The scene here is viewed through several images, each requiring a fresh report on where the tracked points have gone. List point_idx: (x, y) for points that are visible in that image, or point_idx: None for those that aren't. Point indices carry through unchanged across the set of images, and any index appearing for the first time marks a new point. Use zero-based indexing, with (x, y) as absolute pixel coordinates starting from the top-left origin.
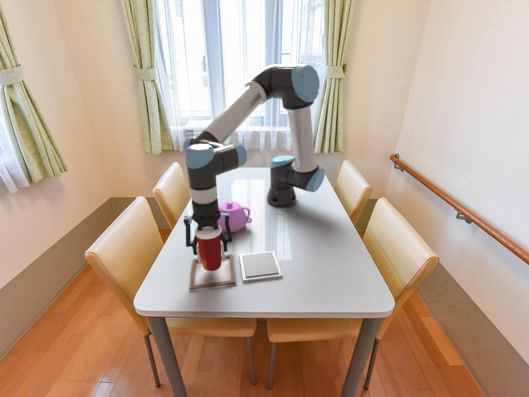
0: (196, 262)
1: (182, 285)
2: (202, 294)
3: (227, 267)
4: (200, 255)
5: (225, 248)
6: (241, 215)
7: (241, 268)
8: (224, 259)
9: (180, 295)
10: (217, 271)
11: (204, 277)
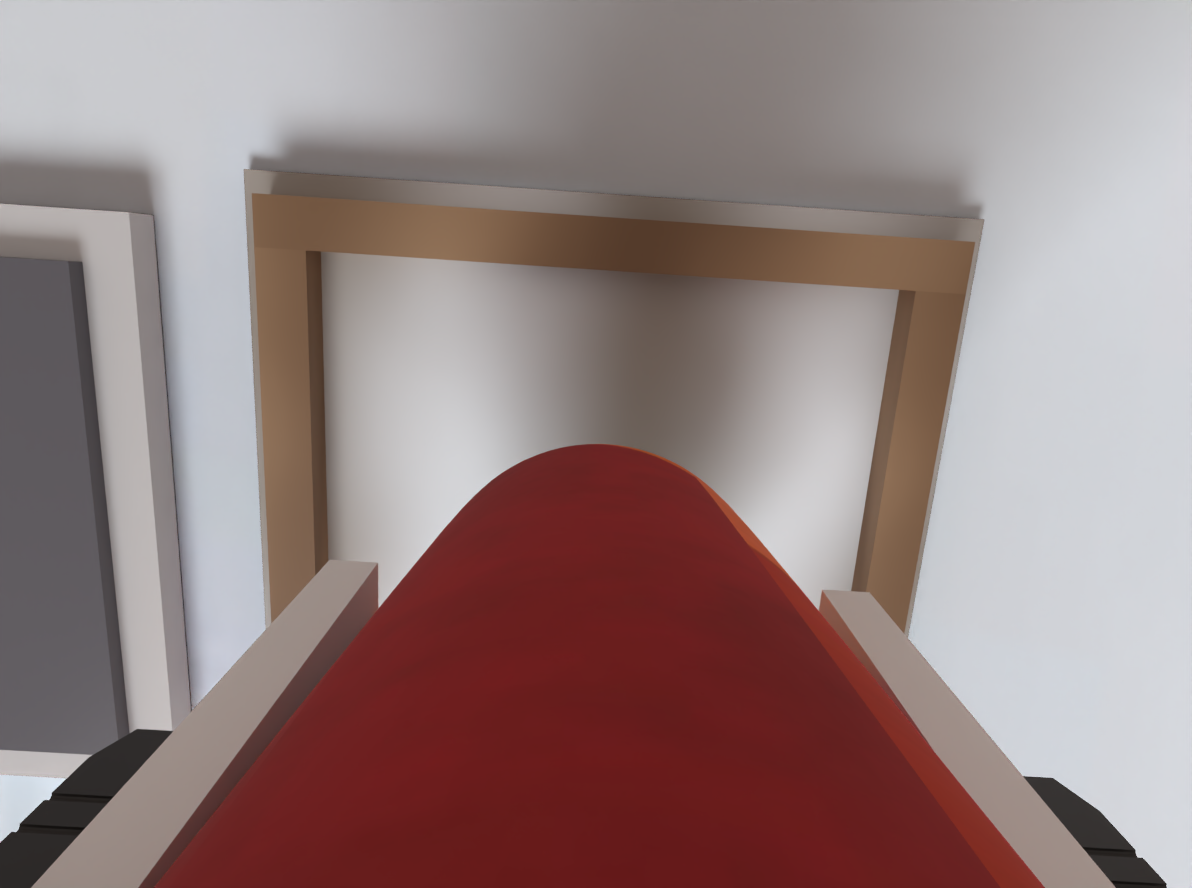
0: None
1: (1053, 374)
2: (790, 111)
3: (378, 575)
4: None
5: (92, 818)
6: None
7: (149, 486)
8: (313, 582)
9: (1106, 175)
10: None
11: (730, 450)
